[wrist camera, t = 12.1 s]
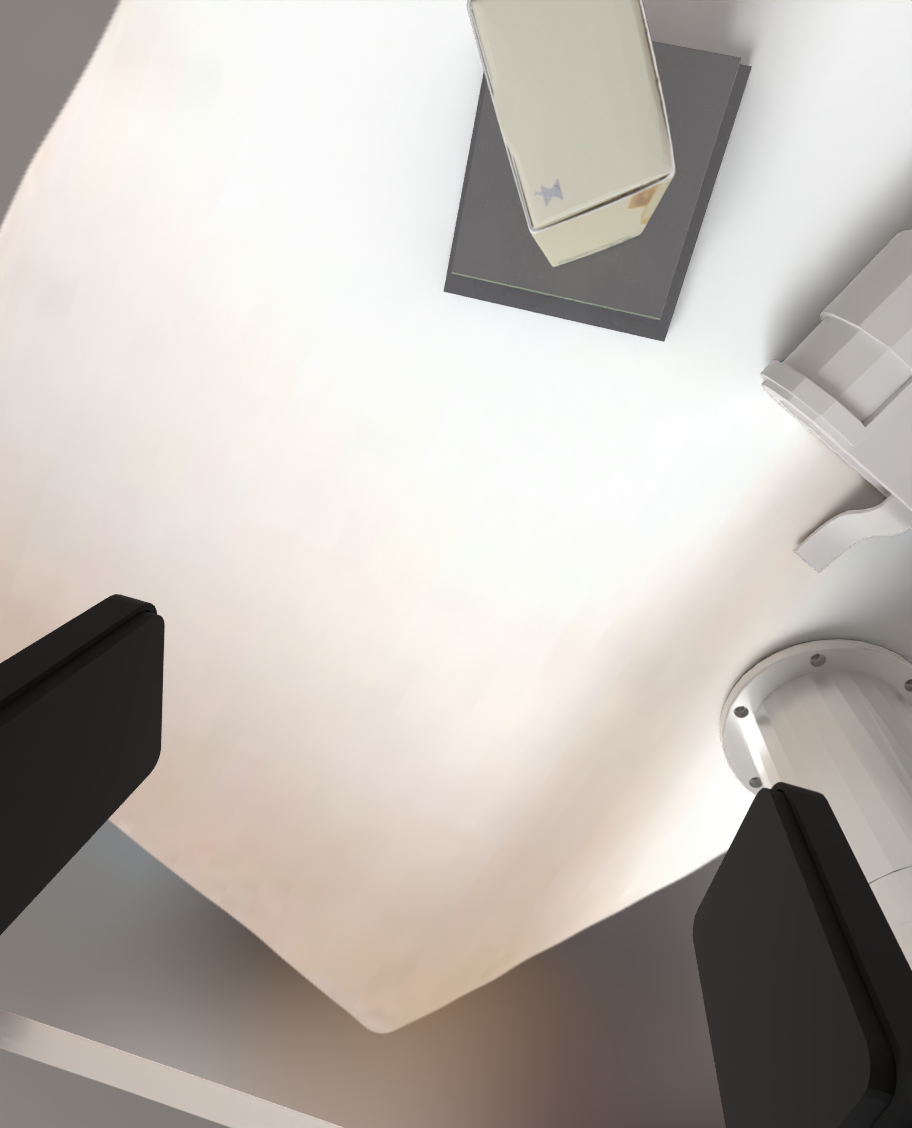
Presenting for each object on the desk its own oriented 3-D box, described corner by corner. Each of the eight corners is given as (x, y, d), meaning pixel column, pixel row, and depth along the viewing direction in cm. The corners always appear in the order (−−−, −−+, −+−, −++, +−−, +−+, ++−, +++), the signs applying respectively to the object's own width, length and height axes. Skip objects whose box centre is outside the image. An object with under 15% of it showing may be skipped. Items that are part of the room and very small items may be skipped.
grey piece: (746, 73, 30) (776, 32, 26) (662, 340, 35) (674, 345, 30) (496, 26, 31) (481, -22, 27) (447, 291, 36) (427, 289, 31)
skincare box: (645, 234, 29) (685, 188, 18) (550, 270, 30) (531, 248, 19) (608, 71, 27) (627, -95, 16) (508, 117, 28) (460, -8, 17)
